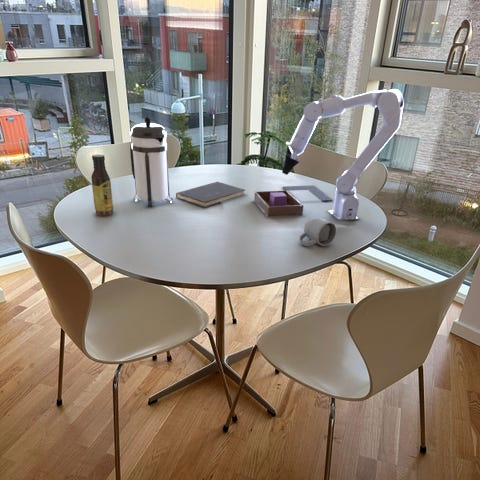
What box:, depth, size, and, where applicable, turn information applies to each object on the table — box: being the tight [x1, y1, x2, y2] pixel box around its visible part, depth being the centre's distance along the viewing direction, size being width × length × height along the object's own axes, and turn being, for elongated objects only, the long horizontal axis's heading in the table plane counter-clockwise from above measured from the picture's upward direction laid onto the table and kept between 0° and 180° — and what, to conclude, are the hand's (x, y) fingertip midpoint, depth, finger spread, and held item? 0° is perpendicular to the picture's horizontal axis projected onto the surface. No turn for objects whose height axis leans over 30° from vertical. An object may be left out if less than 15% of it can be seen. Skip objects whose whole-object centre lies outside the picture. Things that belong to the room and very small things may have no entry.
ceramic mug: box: [299, 216, 337, 247], centre depth 146 cm, size 11×8×8 cm
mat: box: [282, 185, 333, 203], centre depth 191 cm, size 20×14×1 cm
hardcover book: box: [175, 181, 246, 209], centre depth 183 cm, size 16×23×2 cm
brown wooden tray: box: [254, 190, 304, 218], centre depth 173 cm, size 18×13×4 cm
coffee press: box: [129, 116, 174, 208], centre depth 169 cm, size 17×16×30 cm
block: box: [269, 192, 287, 207], centre depth 172 cm, size 5×5×5 cm
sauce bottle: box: [91, 154, 114, 217], centre depth 158 cm, size 7×6×20 cm
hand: (285, 169), depth 172 cm, fingers open, 7 cm apart
